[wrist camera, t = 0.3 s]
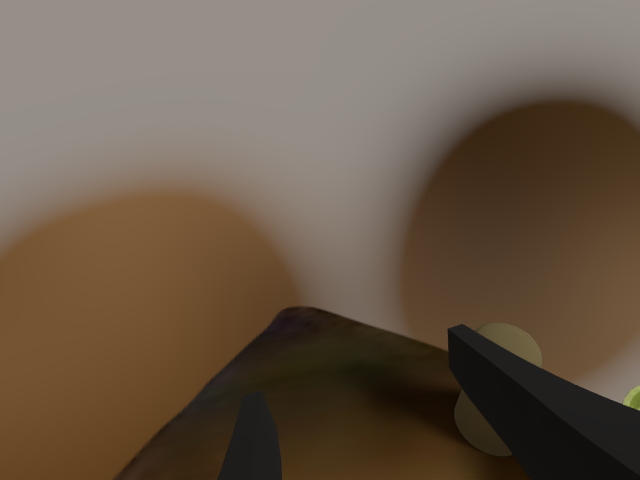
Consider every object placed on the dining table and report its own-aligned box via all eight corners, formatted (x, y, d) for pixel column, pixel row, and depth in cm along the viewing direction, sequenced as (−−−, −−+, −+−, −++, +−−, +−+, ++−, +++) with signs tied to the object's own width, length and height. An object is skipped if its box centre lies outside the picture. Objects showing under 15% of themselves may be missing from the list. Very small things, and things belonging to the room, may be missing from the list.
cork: (459, 451, 28) (472, 366, 23) (449, 390, 33) (457, 310, 28) (537, 461, 26) (569, 374, 21) (513, 396, 31) (535, 313, 26)
